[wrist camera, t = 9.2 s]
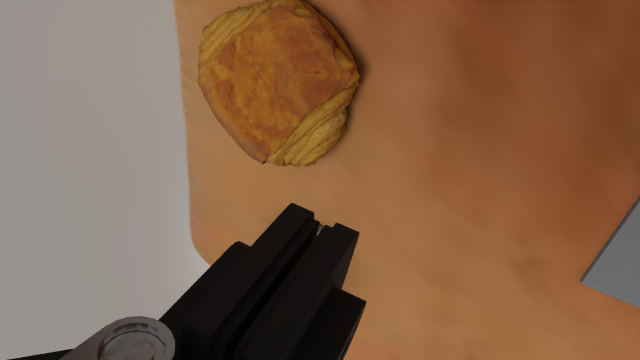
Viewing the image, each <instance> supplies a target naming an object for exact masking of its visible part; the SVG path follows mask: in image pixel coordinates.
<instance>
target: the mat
mask: <svg viewBox="0 0 640 360" xmlns="http://www.w3.org/2000/svg"><path fill="white" fill-rule="evenodd" d="M581 284H583V285H585V286H587V287H590V288H592V289H595V290H597V291H599V292H602V293H604V294H606V295H609V296H611V297H614V298H616V299H618V300H621V301H623V302H626V303H628V304H630V305H633V306H635V307H638V308H640V197H639V198H638V200H637V201H636V202H635V204H634V205H633V207H632V208H631V209H630V211H629V212H628V214H627V215H626V216H625V218H624V219H623V221H622V222H621V223H620V225H619V226H618V228H617V229H616V230H615V232H614V233H613V235H612V236H611V238H610V239H609V240H608V242H607V243H606V245H605V246H604V247H603V249H602V250H601V252H600V253H599V254H598V256H597V257H596V259H595V260H594V261H593V263H592V264H591V266H590V267H589V268H588V270H587V271H586V273H585V274H584V275H583V277H582V278H581Z"/></svg>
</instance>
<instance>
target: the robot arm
mask: <svg viewBox="0 0 640 360" xmlns="http://www.w3.org/2000/svg"><path fill="white" fill-rule="evenodd" d="M319 226H320V222H319V221H316V220H314V212H312V211H310V210H307V209H305V208H303V207H300V206H298V205H296V204H294V203H291V204H290V205H288V206H287V208H286V209H285V210H284V211H283V212H282V213H281V214H280V215H279V216H278V217H277V218H276V220H275V221H274V222H273V223H272V224H271V225H270V226H269V227H268V228H267V229H266V231H265V232H264V233H263V234H262V235H261V236H260V237H259V238H258V239H257V240H256V241H255V243H254V244H253V245H252V246H251V247H250V246H248V245H246V244H244V243H242V242H240V241H238V242H235V243H234V244H233V245H231V246H230V247H229V248H228V249H227V250H226V251H225V252H224V253H223V255H222V256H221V257H220V258H219V259H218V260H217V261H216V262H215V263H214V264H213V265H212V266H211V267H210V268H209V269H208V270H207V271H206V272H205V273H204V274H203V275H202V276H201V277H200V278H199V279H198V280H197V281H196V282H195V283H194V284H193V285H192V286H191V287H190V288H189V289H188V290H187V291H186V293H184V294H183V295H182V296H181V298H180V299H179V300H178V301H177V302H176V303H175V304H174V305H173V306H172V307H171V308H170V309H169V310H168V311H167V312H166V313H165V314H164V315H163V316H162V317H161V318H160V319H159V320H156V319H154V318H149V317H144V316H133V317H126V318H123V319H119V320H116V321H114V322H112V323H111V324H109V325H107V326H105V327H104V328H102V329H101V330H99V331H98V332H97V333H95V334H94V335H92V336H91V337H90V338H88V339H87V340H86V341H84V342H83V343H82V344H80V345H78V346H77V347H76V348H74V349H68V350H63V351H57V352H51V353H45V354H39V355H33V356H27V357H22V358H16V359H9V360H343V359H344V357H345V355H346V352H347V350H348V348H349V346H350V343H351V341H352V339H353V336H354V334H355V332H356V329H357V327H358V324H359V322H360V319H361V316H362V314H363V311H364V308H365V305H366V302H367V301H364V300H362V299H360V298H358V297H356V296H354V295H352V294H350V293H348V292H345V291H343V290H341V289H342V286H343V283H344V280H345V277H346V274H347V271H348V268H349V265H350V262H351V259H352V256H353V253H354V250H355V246H356V243H357V240H358V237H359V232H357V231H355V230H353V229H351V228H348V227H346V226H344V225H341V224H339V223H336V224H335V225H334V226H333V228H332V227H330V226H328V225H325V226H324V227H323V228H322V230H321V231H320V232H319V234H318V230H319ZM317 234H318V235H317Z"/></svg>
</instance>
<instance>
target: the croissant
mask: <svg viewBox="0 0 640 360" xmlns="http://www.w3.org/2000/svg"><path fill="white" fill-rule="evenodd" d="M199 49H200V51H199V59H200V60H199V65H198V70H199V73H198V74H199V76H198V78H197V82H198V84H199V86H200V88H201V90H202V92H203V94H204V97H205V99H206V101H207V102H208V104H209V106H210V108H211V110H212V112H213V114H214V115H215V117H216V118H217V120H218V121H219V122H220V124H221V125H222V126H223V127H224V128H225V130H226V131H227V133H228V134H229V135H230V136H231V137H232V138H233V139H234V141H235V142H236V143H237V144H238V145H239V147H240V148H241V149H242V150H243V151H244V152H245V153H246V154H248V155H249V156H250V157H252V158H253V159H255V160H256V161H258V162H260V163H261V164H264V163H266V162H268V163H272V164H276V165H278V166H287V165H293V166H300V165H301V166H309V165H312V164H315V163H316V161H317V160H318V159H319V158H321V157H322V156H324V155H325V154H327V153H328V152H329V151H330V150H331V148H332V147H333V146H334V145H335V144H337V142H338V139H339V138H340V136H342V134H343V133H344V132H345V126H344V122H345V120H346V118H347V113H346V109H345V107H346V106H347V105H348V104H349V103H350V102H351V99H352V96H353V93H354V91H355V90H356V89H357V86H360V84H359V82H358V79H359V78H360V75H359V73H358V71H357V66H356V65H357V64H355V61H354V59H353V56H352V54H351V52H350V50H349V49H348V47H347V46H346V44H345V42H344V41H343V40H342V38H341V37H340V35H339V34H338V32H337V31H336V30H335V28H334V27H333V26H332V25H331V24H330V23H329V21H328V20H326V19H325V18H324V17H323V16H322V15H320V14H319V13H317V12H316V11H315V9H314V8H313V7H312V6H311V5H309V4H307V3H306V2H303V1H300V0H265V1H262V2H261V3H258V4H256V5H255V6H253V7H244V8H240V7H239V8H237V9H236V10H233V11H228V12H226V13H224V14H222V15H221V16H219V17H217V18H216V19H214V20H213V21H212V22H211V23H210V24H209V25H208V26H206V27H205V28H204V29H203V31H202V36H201V46H199Z"/></svg>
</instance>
